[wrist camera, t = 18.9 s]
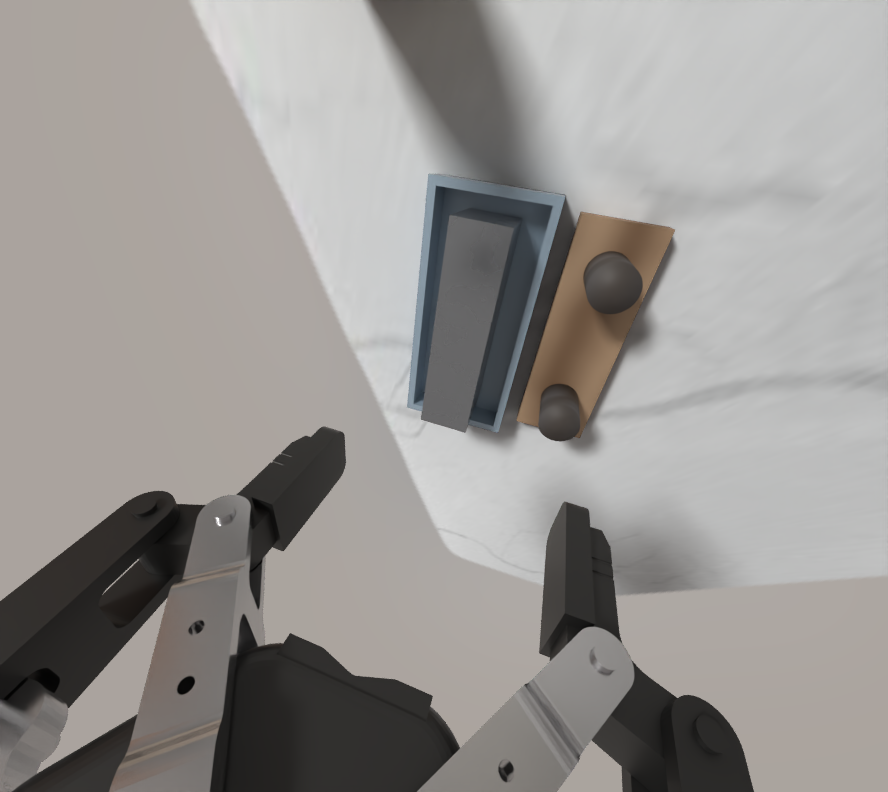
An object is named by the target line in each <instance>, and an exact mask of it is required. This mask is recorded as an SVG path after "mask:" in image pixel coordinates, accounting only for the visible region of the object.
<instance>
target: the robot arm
mask: <svg viewBox="0 0 888 792" xmlns="http://www.w3.org/2000/svg"><path fill="white" fill-rule="evenodd" d="M345 463H346V457H345V437H344V433H343V432H341V431H337V430H334V429H331V428H327V427H321V428H320V429H319V430H318V431H317V432H316V433H315V434H314V435H313V436H312V437H308V436H304V437H302V438H300V439H298V440H296V441H295V442H292V443H291V444H290V445H289V446H288V447H287V448H286V449H285V450H284V451H283V452H282V454H281V455H280V454H279V455H278V456H277V457H276V458H275V459H274V460H273V462H272V463H270V464H269V465H268V466H267V467H266V468H265V469H264V470H262V471H261V472H260V473H259V474H258V475H257V476H256V477H255V478H254V479H253V480H252V481H251V482H250V483H249V484H248V485H247V486H246V487H245V488H243V490H241V491H240V492H239V493H238V494H237V495H227V496H223V497H220V498H217V499H215V500H213V501H211V502H210V503H208V504H207V505H187V504H176V501H175V499H174V497H173V496H172V495H171V494H170V493H168V492H164V491H153V492H148V493H144V494H142V495H139V496H137V497H135V498H133V499H131V500H129V501H128V502H126V503H125V504H124V505H123V506H121V507H120V508H119V509H117V510H116V511H115V512H114V513H112V514H111V515H110V516H109V517H107V518H106V519H105V520H104V521H102V522H101V523H100V524H98V525H97V526H96V527H94V528H93V529H92V530H91V531H89V532H88V533H87V534H86V535H84V536H83V537H82V538H80V539H79V540H78V541H77V542H75V543H74V544H73V545H72V546H70V547H69V548H68V549H66V550H65V551H64V552H63V553H61V554H60V555H59V556H57V557H56V558H55V559H54V560H52V561H51V562H50V563H49V564H47V565H46V566H45V567H44V568H42V569H41V570H40V571H38V572H37V573H36V574H35V575H33V576H32V577H31V578H30V579H28V580H27V581H26V582H24V583H23V584H22V585H21V586H19V587H18V588H17V589H15V590H14V591H13V592H12V593H10V594H9V595H8V596H6V597H5V598H4V599H3V600H1V601H0V792H557V791H558V789H559V788H560V787H561V785H562V784H563V782H564V781H565V780H566V779H567V777H568V776H569V775H570V773H571V772H572V770H573V769H574V767H575V766H576V764H577V763H578V761H579V759H580V758H579V757H580V755H581V753H582V752H583V750H584V749H585V748H586V746H587V745H588V744H589V742H590V741H591V740H592V741H593V742H594V743H595V744H597V745H598V746H599V747H600V748H601V749H602V750H603V751H605V752H606V753H607V754H608V755H609V756H610V757H612V758H613V759H614V760H615V761H616V762H617V763H618V764H619V765H621V766H622V787H623V792H754V790H753V787H752V783H751V779H750V775H749V771H748V767H747V763H746V759H745V755H744V752H743V749H742V746H741V744H740V741H739V739H738V737H737V735H736V733H735V732H734V730H733V728H732V727H731V726H730V724H729V723H728V722H727V720H726V719H725V718H724V717H723V715H722V714H721V713H720V712H719V711H718V710H716V709H715V708H714V707H713V706H712V705H710V704H709V703H708V702H706V701H704V700H702V699H701V698H698V697H695V696H691V695H684V696H681V697H679V698H676V697H675V696H674V695H672V694H671V693H670V692H668V691H667V690H666V689H664V688H663V687H661V686H660V685H659V684H657V683H656V682H655V681H653V680H652V679H651V678H649V677H648V676H647V675H646V674H644V673H643V672H642V671H641V670H640V669H639V668H638V667H637V666H636V665H635V664H634V663H633V661H632V660H631V658H630V655H629V654H628V652H627V650H626V648H625V647H624V645H623V644H622V641H621V638H620V634H619V626H618V616H617V607H616V597H615V588H614V580H613V569H612V566H611V565H612V560H611V550H610V546H609V544H608V542H607V540H606V538H605V536H604V534H603V532H602V531H601V530H598V529H595V528H592V527H590V519H589V510H588V509H587V508H584V507H580V506H577V505H574V504H571V503H567V502H564V503H563V504H562V506H561V508H560V510H559V512H558V515H557V517H556V519H555V521H554V523H553V525H552V527H551V530H550V532H549V536H548V540H547V546H546V559H545V574H544V590H543V605H542V620H541V636H540V650H539V653H540V654H542V655H545V656H548V657H550V662H549V663H548V664H547V665H546V666H545V667H544V668H543V669H542V670H541V671H540V672H539V673H538V674H537V675H536V676H535V677H534V678H533V680H531V681H530V682H529V683H528V684H525V685H524V686H523V687H521V688H520V689H519V690H518V691H517V692H516V693H515V694H514V695H513V696H512V697H511V698H510V699H509V700H508V701H507V702H506V703H505V704H504V705H503V706H502V707H501V708H500V709H499V710H498V711H497V712H496V713H495V714H494V715H493V716H492V717H491V718H490V719H489V720H488V721H487V722H486V723H485V724H484V725H483V726H482V727H481V728H480V729H479V730H478V731H477V732H476V733H475V734H474V735H473V736H472V737H471V738H470V739H469V740H468V741H467V742H466V743H465V744H464V745H463V746H462V747H461V748H460V747H459V745H458V743H457V741H456V739H455V737H454V735H453V733H452V732H451V730H450V728H449V727H448V726H447V724H446V722H445V721H444V720H443V719H442V718H441V716H440V715H439V714H438V713H437V712H436V711H435V710H434V709H433V708H431V707H430V705H431V701H432V697H433V696H432V695H429V694H427V693H425V692H423V691H420V690H418V689H416V688H414V687H411V686H409V685H406V684H404V683H402V682H400V681H398V680H395V679H384V678H373V677H361V676H354V675H352V674H351V673H350V672H348V671H347V670H346V669H345V668H344V667H343V666H342V665H341V664H340V663H339V662H338V661H337V660H336V659H335V658H333V657H332V656H331V655H330V654H329V653H328V652H327V651H326V650H325V649H324V648H322V647H320V646H318V645H316V644H313V643H311V642H309V641H306V640H304V639H302V638H299V637H297V636H295V635H293V634H291V633H290V634H289V636H288V637H287V639H286V640H285V642H284V643H283V644H282V643H279V644H278V643H276V644H268V645H265V632H264V624H263V600H264V580H265V555H266V554H267V553H268V551H269V550H270V549H271V548H272V547H273V548H276V549H278V550H281V551H284V550H285V549H286V547H287V546H288V545H289V544H290V542H291V541H292V539H293V538H294V537H295V536H296V534H297V533H298V532H299V531H300V529H301V528H302V527H303V525H304V524H305V523H306V521H307V520H308V519H309V518H310V516H311V515H312V514H313V512H314V511H315V510H316V508H317V507H318V506H319V504H320V503H321V502H322V501H323V499H324V498H325V497H326V496H327V494H328V493H329V492H330V490H331V489H332V488H333V486H334V485H335V484H336V483H337V481H338V480H339V478H340V477H341V476H342V474H343V471H344V469H345ZM137 559H139V561H138V562H137V563H135V564H134V565H133V566H132V568H130V569H129V570H128V571H127V572H126V573H125V574H124V575H123V576H122V577H121V578H120V579H119V580H118V581H116V582H115V583H114V584H113V585H112V586H111V587H110V588H109V589H108V590H107V591H106V592H105V593H104V591H105V590H106V589H107V588H108V587H109V586H110V585H111V584H112V583H113V582H114V581H115V580H116V579H117V578H118V577H119V576H120V575H121V574H123V573H124V572H125V570H127V569H128V568H129V567H130V566H131V565H132V564H133V563H134V562H135V561H136V560H137ZM103 593H104V594H103ZM102 594H103V595H102ZM167 597H168V598H167ZM166 598H167V602H166V606H165V610H164V614H163V618H162V621H161V625H160V629H159V633H158V637H157V641H156V645H155V649H154V653H153V656H152V660H151V664H150V668H149V672H148V676H147V680H146V684H145V687H144V691H143V695H142V699H141V703H140V707H139V711H138V714H137V715H135V716H134V717H132V718H131V719H129V720H127V721H126V722H124V723H122V724H120V725H119V726H117V727H115V728H114V729H112V730H110V731H108V732H107V733H105V734H104V735H102V736H100V737H98V738H97V739H95V740H93V741H92V742H90V743H88V744H87V745H85V746H83V747H81V748H80V749H78V750H77V751H75V752H73V753H71V754H70V755H68V756H66V757H65V758H63V759H61V760H60V761H58V762H56V763H54V764H53V765H51V766H49V767H48V768H46V769H44V770H43V771H41V772H39V773H38V774H36V773H37V770H38V768H39V766H40V764H41V762H43V761H44V760H45V759H47V758H48V757H49V756H50V755H51V754H52V753H53V752H54V750H55V749H56V748H57V746H58V744H59V741H60V734H61V732H62V730H63V728H64V726H65V724H66V721H67V716H68V708H69V707H70V706H71V705H72V704H73V703H74V701H75V700H76V699H77V698H78V697H79V696H80V695H81V694H82V692H83V691H84V690H85V689H86V688H87V687H88V686H89V685H90V684H91V682H92V681H93V680H94V679H95V678H96V677H97V676H98V675H99V673H100V672H101V671H102V670H103V669H104V668H105V667H106V666H107V664H108V663H109V662H110V661H111V660H112V659H113V658H114V657H115V656H116V654H117V653H118V652H119V651H120V650H121V649H122V648H123V647H124V645H125V644H126V643H127V642H128V641H129V640H130V639H131V638H132V636H133V635H134V634H135V633H136V632H137V631H138V630H139V629H140V628H141V626H142V625H143V624H144V623H145V622H146V621H147V620H148V618H149V617H150V616H151V615H152V614H153V613H154V612H155V611H156V609H157V608H158V607H159V606H160V605H161V604H162V603H163V602H164V601H165V600H166Z"/></svg>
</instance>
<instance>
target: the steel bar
mask: <svg viewBox="0 0 888 792" xmlns="http://www.w3.org/2000/svg"><path fill="white" fill-rule="evenodd" d="M522 220H523V218H519V217H514V216H509V215H504V214H499V213H494V212H489V211H484V210H479V209H474V208H468V209H465V210H462V211H459V212H456V213H454V214H451V215H449V222H448V229H447V236H446V243H445V251H444V258H443V265H442V272H441V279H440V286H439V294H438V301H437V308H436V315H435V322H434V329H433V336H432V344H431V351H430V358H429V365H428V372H427V379H426V386H425V394H424V401H423V408H422V415H421V420H424V421H428V422H431V423H434V424H438V425H441V426H445V427H448V428H451V429H455V430H458V431H461V432H466V430H467V427H468V424H469V422H470V419H471V416H472V414H473V411H474V408H475V406H476V403H477V400H478V397H479V394H480V390H481V386H482V382H483V378H484V374H485V370H486V366H487V361H488V357H489V353H490V349H491V345H492V341H493V337H494V333H495V329H496V325H497V321H498V317H499V313H500V309H501V305H502V301H503V297H504V293H505V288H506V284H507V280H508V276H509V272H510V268H511V264H512V260H513V256H514V252H515V248H516V244H517V240H518V236H519V232H520V228H521V224H522Z"/></svg>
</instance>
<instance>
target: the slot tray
mask: <svg viewBox="0 0 888 792" xmlns="http://www.w3.org/2000/svg"><path fill="white" fill-rule="evenodd" d="M564 200H565V195H563V194H557V193H551V192H545V191H539V190H533V189H527V188H521V187H515V186H509V185H503V184H497V183H491V182H485V181H479V180H473V179H467V178H461V177H455V176H449V175H443V174H428V184H427V195H426V206H425V217H424V228H423V239H422V250H421V261H420V272H419V283H418V294H417V305H416V316H415V327H414V338H413V349H412V360H411V371H410V382H409V393H408V404H407V407H408V408H411V409H415V410H418V411H422V408H423V401H424V394H425V386H426V379H427V372H428V365H429V358H430V351H431V344H432V336H433V329H434V322H435V315H436V308H437V301H438V294H439V286H440V279H441V272H442V265H443V258H444V251H445V243H446V236H447V229H448V222H449V215H451V214H454V213H456V212H459V211H462V210H465V209H468V208H474V209H479V210H484V211H489V212H494V213H499V214H504V215H509V216H514V217H519V218H523V220H522V224H521V228H520V232H519V236H518V240H517V244H516V248H515V252H514V256H513V260H512V264H511V268H510V272H509V276H508V280H507V284H506V288H505V293H504V297H503V301H502V305H501V309H500V313H499V317H498V321H497V325H496V329H495V333H494V337H493V341H492V345H491V349H490V353H489V357H488V361H487V366H486V370H485V374H484V378H483V382H482V386H481V390H480V394H479V397H478V400H477V403H476V406H475V408H474V411H473V414H472V416H471V419H470V422H469V424H468V425H472V426H475V427H479V428H482V429H486V430H490V431H493V432H497V433H498V431H499V428H500V424H501V421H502V417H503V414H504V410H505V407H506V403H507V400H508V396H509V393H510V389H511V386H512V382H513V379H514V375H515V372H516V368H517V365H518V361H519V358H520V354H521V351H522V347H523V344H524V340H525V337H526V333H527V330H528V326H529V323H530V319H531V316H532V312H533V309H534V305H535V302H536V298H537V295H538V291H539V288H540V284H541V281H542V277H543V273H544V270H545V266H546V263H547V259H548V256H549V252H550V249H551V245H552V242H553V238H554V235H555V231H556V228H557V224H558V221H559V217H560V214H561V210H562V207H563V203H564Z"/></svg>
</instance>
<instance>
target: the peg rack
mask: <svg viewBox="0 0 888 792" xmlns="http://www.w3.org/2000/svg"><path fill="white" fill-rule="evenodd" d="M674 232H675V230H674V229H672V228H670V227H665V226H660V225H654V224H648V223H642V222H637V221H631V220H625V219H619V218H614V217H608V216H602V215H596V214H591V213H585V212H581V213H580V216H579V219H578V222H577V226H576V229H575V232H574V235H573V238H572V242H571V245H570V248H569V251H568V254H567V258H566V261H565V264H564V267H563V270H562V274H561V277H560V280H559V283H558V286H557V289H556V293H555V296H554V299H553V302H552V305H551V309H550V312H549V315H548V318H547V321H546V325H545V328H544V331H543V334H542V337H541V341H540V344H539V347H538V350H537V353H536V357H535V360H534V363H533V366H532V369H531V373H530V376H529V379H528V382H527V385H526V389H525V392H524V395H523V398H522V401H521V405H520V408H519V411H518V415H517V421H519V422H522V423H526V424H530V425H533V426H537V427H539V430H540V431H541V433H542V434H543V435H544V436H545V437H547V438H549V439H551V440H554V441H566V440H569V439H571V438H573V437H577V438H580V436H581V434H582V432H583V430H584V428H585V425H586V423H587V421H588V419H589V417H590V414H591V412H592V410H593V408H594V406H595V404H596V401H597V399H598V397H599V395H600V393H601V391H602V388H603V386H604V384H605V382H606V380H607V377H608V375H609V373H610V371H611V369H612V367H613V364H614V362H615V360H616V358H617V356H618V354H619V351H620V349H621V347H622V345H623V343H624V340H625V338H626V336H627V334H628V332H629V330H630V327H631V325H632V323H633V321H634V319H635V316H636V314H637V312H638V310H639V308H640V306H641V303H642V301H643V299H644V297H645V295H646V293H647V290H648V288H649V286H650V284H651V282H652V279H653V277H654V275H655V273H656V271H657V269H658V266H659V264H660V262H661V260H662V258H663V256H664V253H665V251H666V249H667V247H668V245H669V242H670V240H671V238H672V236H673V234H674Z"/></svg>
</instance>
